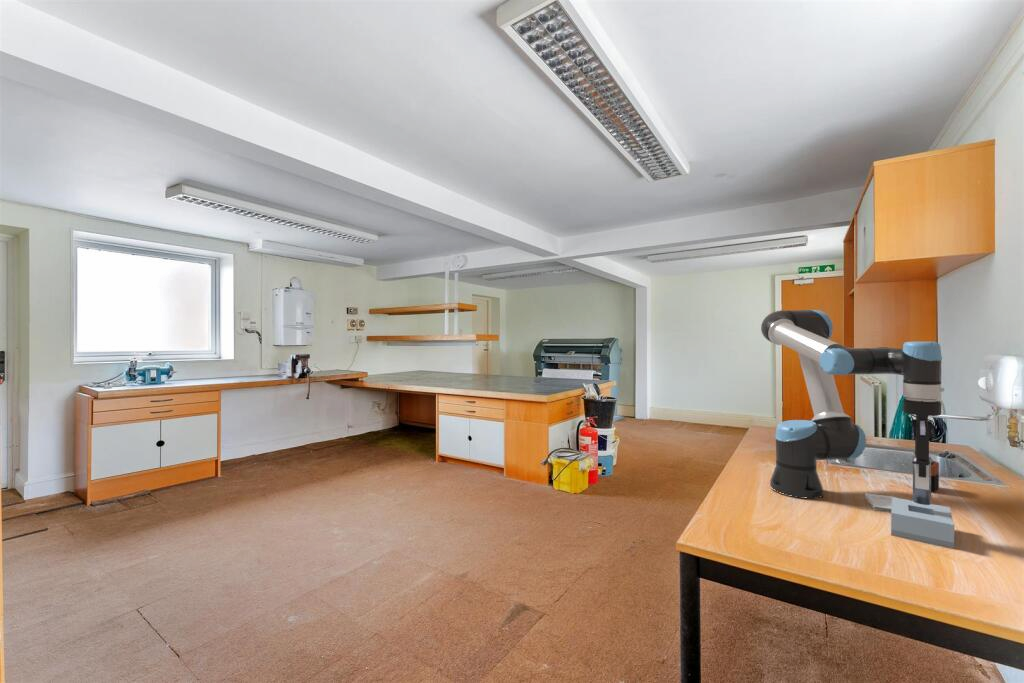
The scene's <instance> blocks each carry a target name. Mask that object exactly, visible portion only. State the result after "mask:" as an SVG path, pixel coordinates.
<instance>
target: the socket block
mask: <svg viewBox="0 0 1024 683" xmlns="http://www.w3.org/2000/svg"><path fill="white" fill-rule="evenodd" d="M894 497H895V496H893V497H892V508H891V512H890V513H891V514H890V520H891V522H890V523H891V524H890V526H891V527H890V535H891V536H893V535H894V537H898V538H903V539H907V540H912V541H917V542H922V543H924V544H931V545H935V546H939V547H944V548H949V549H955V522H954V519H953V515H952V512H951V507H950V506H944V505H940V504H939V505H938V504H932V503H931V505H923V504H918V503H915V502H913V500H910V499H906V498H900V497H896V498H894Z"/></svg>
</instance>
